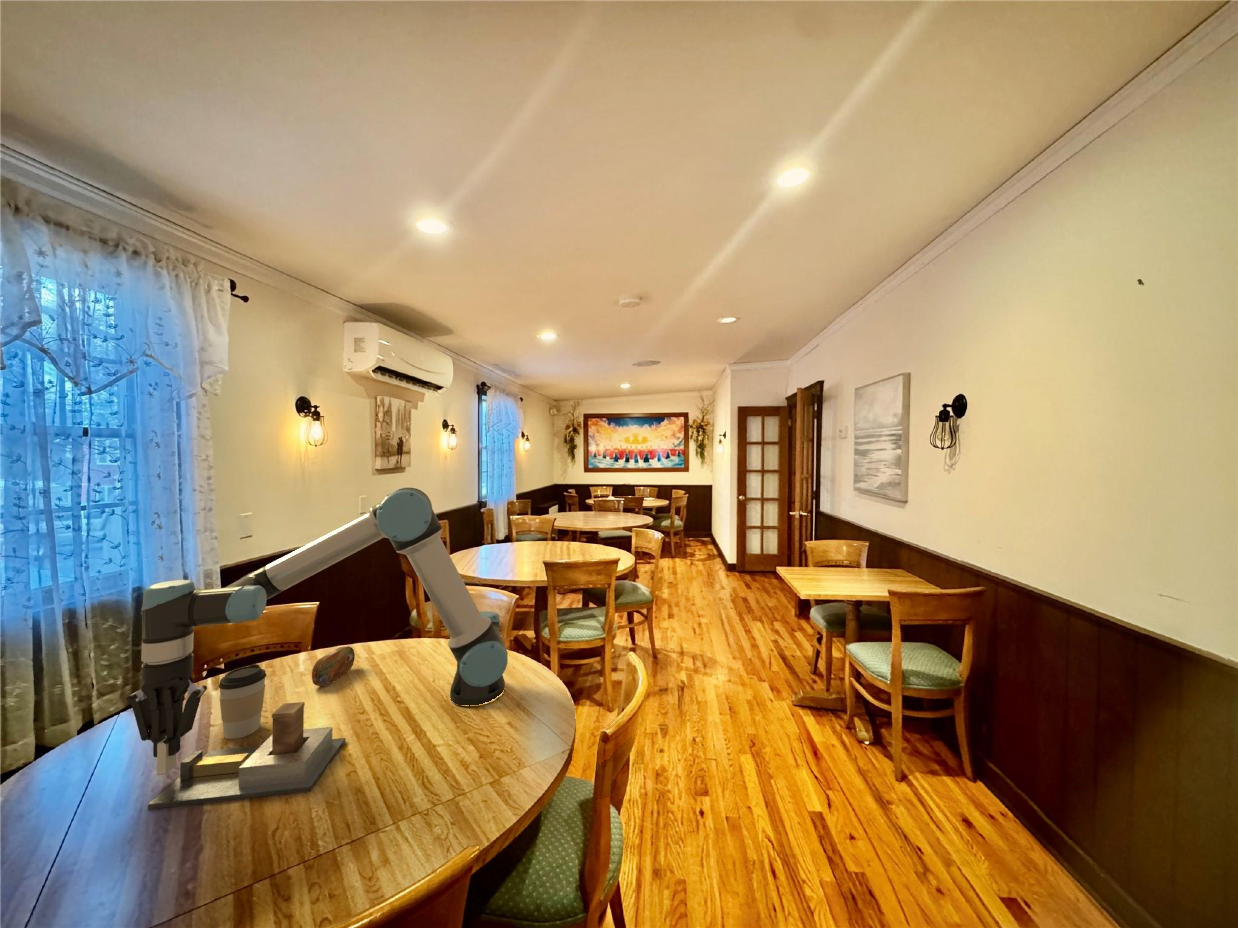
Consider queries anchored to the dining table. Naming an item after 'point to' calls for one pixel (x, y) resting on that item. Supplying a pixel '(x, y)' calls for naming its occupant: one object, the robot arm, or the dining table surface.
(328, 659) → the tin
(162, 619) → the robot arm
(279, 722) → the peg
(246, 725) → the coffee cup
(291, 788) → the dock
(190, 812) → the dining table surface
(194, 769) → the pin
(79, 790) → the dining table surface
